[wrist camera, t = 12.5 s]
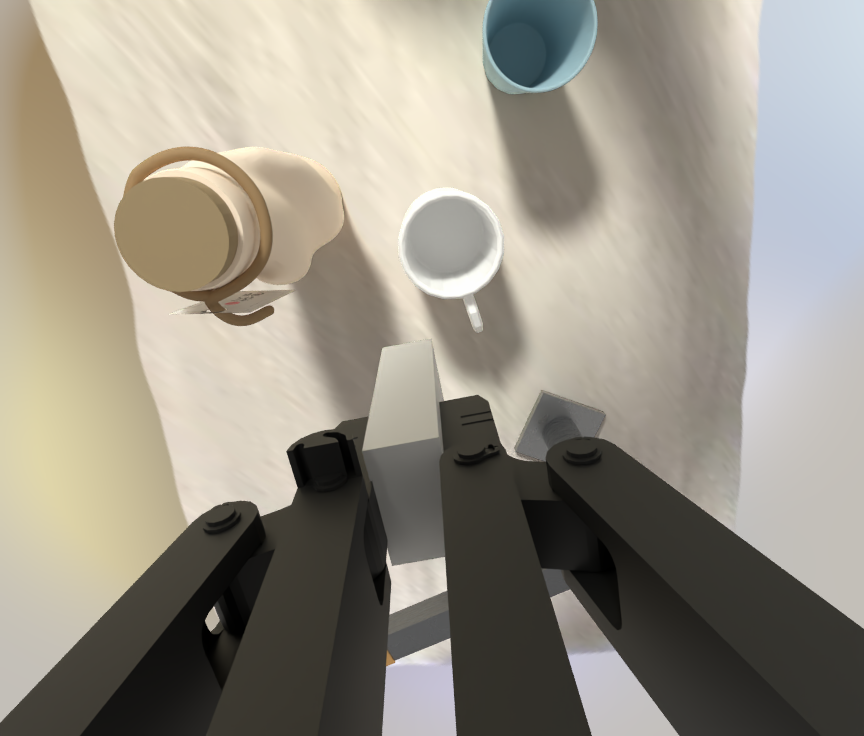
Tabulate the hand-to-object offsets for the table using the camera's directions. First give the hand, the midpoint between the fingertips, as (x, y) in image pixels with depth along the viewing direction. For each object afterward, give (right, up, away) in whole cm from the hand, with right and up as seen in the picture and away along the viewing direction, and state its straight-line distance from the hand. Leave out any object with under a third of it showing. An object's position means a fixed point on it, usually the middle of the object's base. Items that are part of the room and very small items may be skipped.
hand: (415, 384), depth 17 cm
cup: (+8, +27, +30) cm, 41 cm away
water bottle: (-11, +15, +34) cm, 39 cm away
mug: (+2, +11, +36) cm, 37 cm away
